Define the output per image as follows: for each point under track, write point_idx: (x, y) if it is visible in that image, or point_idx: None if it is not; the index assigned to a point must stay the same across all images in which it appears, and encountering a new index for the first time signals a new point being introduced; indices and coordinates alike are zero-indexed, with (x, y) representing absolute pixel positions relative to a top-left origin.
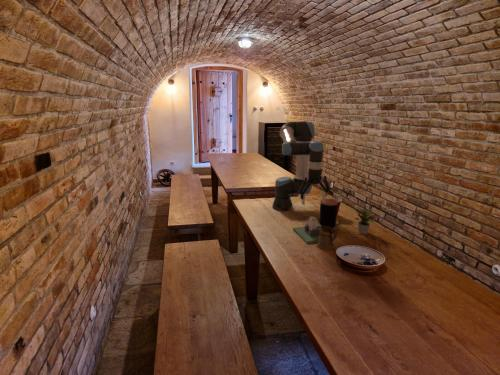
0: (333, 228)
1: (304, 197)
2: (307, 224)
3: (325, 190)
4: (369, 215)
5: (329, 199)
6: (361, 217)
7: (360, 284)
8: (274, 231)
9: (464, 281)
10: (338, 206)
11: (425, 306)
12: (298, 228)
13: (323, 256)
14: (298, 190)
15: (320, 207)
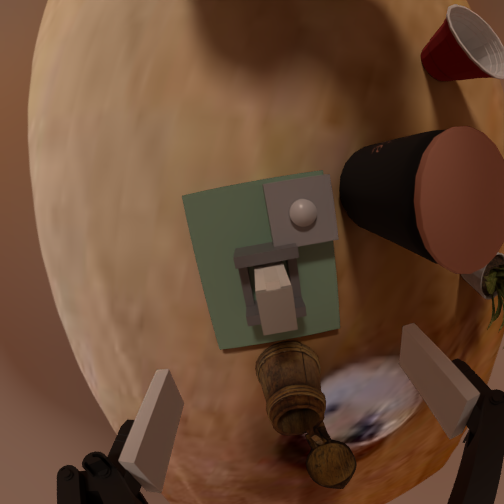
0: (308, 463)
1: (162, 462)
2: (266, 201)
3: (467, 447)
4: None
5: (489, 153)
6: (502, 303)
7: (287, 484)
8: (98, 203)
9: (449, 450)
10: (481, 77)
11: (348, 500)
12: (211, 204)
13: (253, 418)
14: (64, 490)
15: (392, 186)
